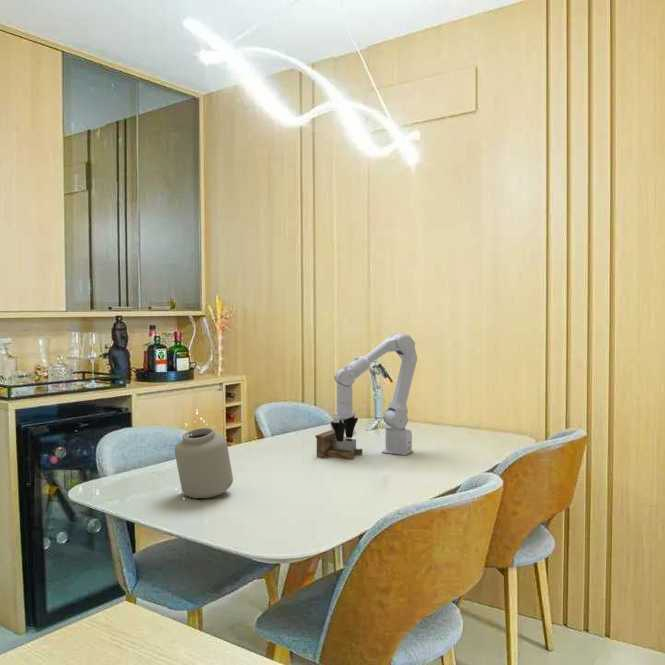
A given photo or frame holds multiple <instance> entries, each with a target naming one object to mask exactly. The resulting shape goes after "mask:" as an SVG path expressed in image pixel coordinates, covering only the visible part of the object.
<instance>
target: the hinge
mask: <svg viewBox="0 0 665 665" xmlns="http://www.w3.org/2000/svg"><path fill="white" fill-rule="evenodd" d="M332 421H333V419H332V420H331V422H332ZM331 422H330V423H331ZM342 422H343V421H342ZM343 423H344V422H343ZM330 428H331V430H332V429H333V427H332V425H331V424H330ZM356 435H357V432H356V429H355V428H354V431H353V436H352V438H353V437H354V436H356ZM344 438H347V437H346V433H345V431H344ZM347 439H351V438H347Z"/></svg>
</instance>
